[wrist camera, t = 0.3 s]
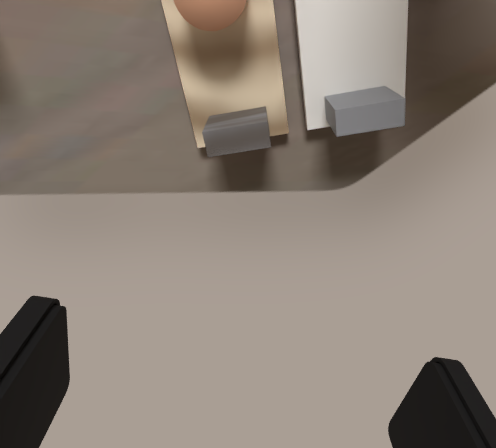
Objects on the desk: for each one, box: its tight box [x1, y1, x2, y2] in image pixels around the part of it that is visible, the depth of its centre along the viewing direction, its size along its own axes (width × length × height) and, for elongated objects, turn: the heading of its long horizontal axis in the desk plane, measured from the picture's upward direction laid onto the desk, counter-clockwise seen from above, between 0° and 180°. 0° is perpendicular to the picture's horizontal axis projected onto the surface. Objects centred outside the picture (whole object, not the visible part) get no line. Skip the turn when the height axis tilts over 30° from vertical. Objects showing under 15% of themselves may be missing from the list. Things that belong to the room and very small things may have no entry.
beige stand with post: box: [161, 0, 289, 157], centre depth 34 cm, size 19×10×8 cm, turn 10°
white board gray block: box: [294, 0, 408, 137], centre depth 33 cm, size 19×10×8 cm, turn 10°
